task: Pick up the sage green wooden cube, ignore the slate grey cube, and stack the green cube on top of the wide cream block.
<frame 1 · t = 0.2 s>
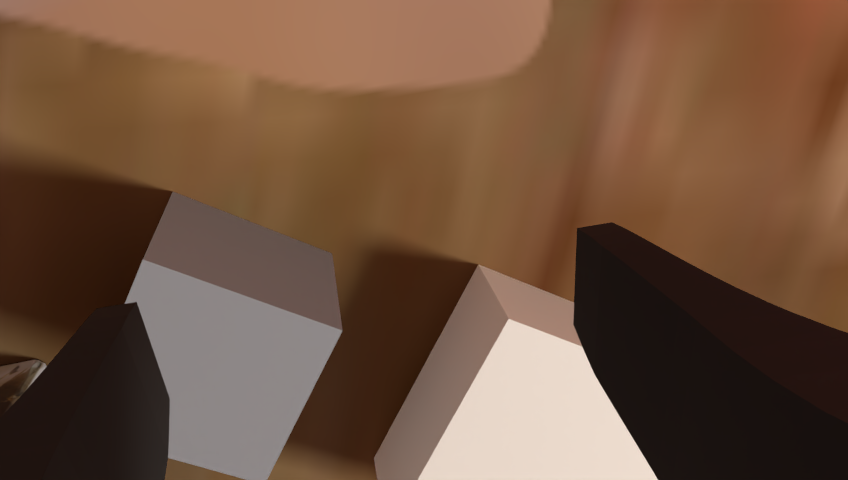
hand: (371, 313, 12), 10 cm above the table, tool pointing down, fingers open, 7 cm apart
grey cube: (223, 292, 23), on the table
cream base block: (522, 395, 27), on the table
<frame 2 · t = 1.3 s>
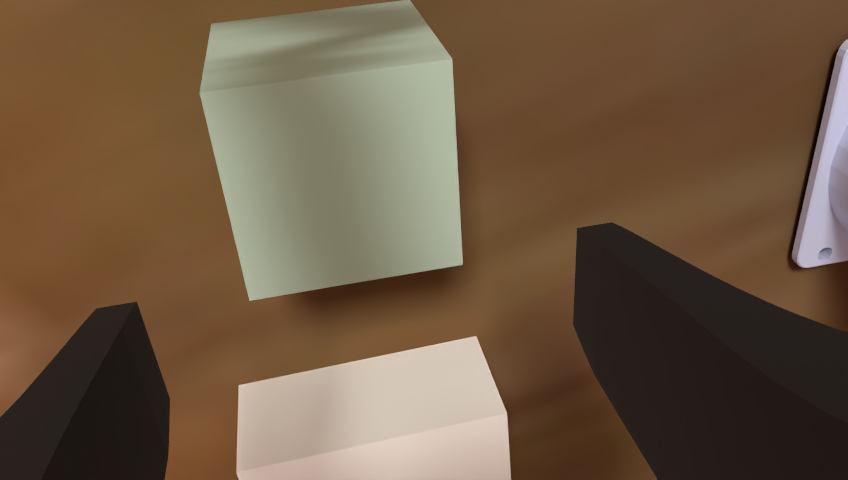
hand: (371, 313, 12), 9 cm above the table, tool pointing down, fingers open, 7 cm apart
cream base block: (374, 438, 27), on the table
green cube: (325, 103, 20), on the table
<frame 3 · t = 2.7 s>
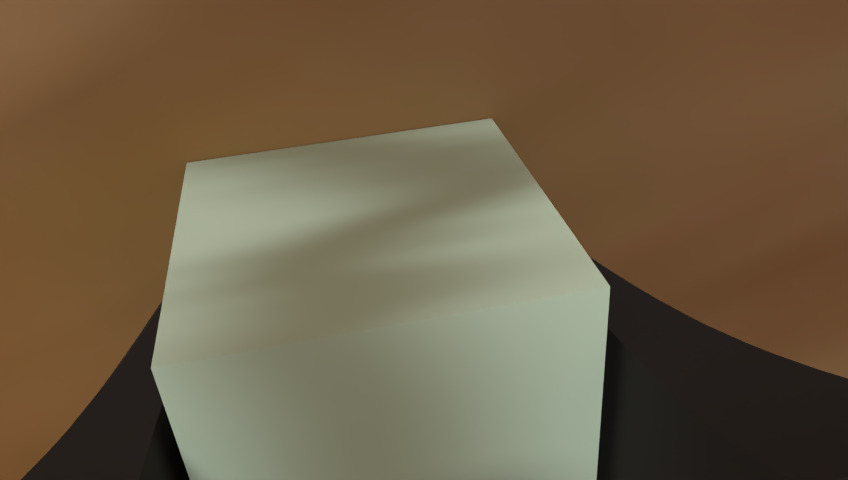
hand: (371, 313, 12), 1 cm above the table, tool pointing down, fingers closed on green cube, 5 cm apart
green cube: (360, 266, 14), on the table, touching gripper
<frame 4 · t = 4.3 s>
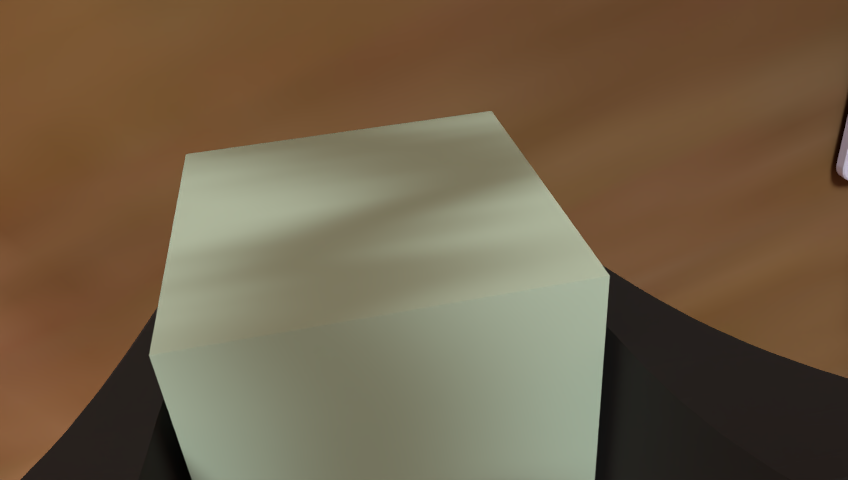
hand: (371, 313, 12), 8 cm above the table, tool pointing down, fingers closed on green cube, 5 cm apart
green cube: (360, 259, 14), point 7 cm above the table, touching gripper
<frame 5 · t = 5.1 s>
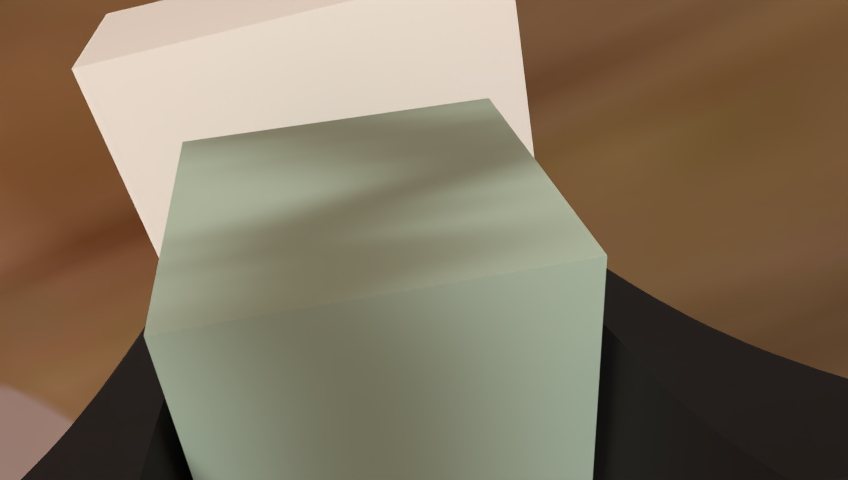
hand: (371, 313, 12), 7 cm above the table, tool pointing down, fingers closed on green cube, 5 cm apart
cream base block: (331, 129, 19), on the table
green cube: (358, 248, 14), point 6 cm above the table, touching gripper
when the fingers open (6 cm above the table, at t = 5.8 s): green cube drops 1 cm, resting on cream base block.
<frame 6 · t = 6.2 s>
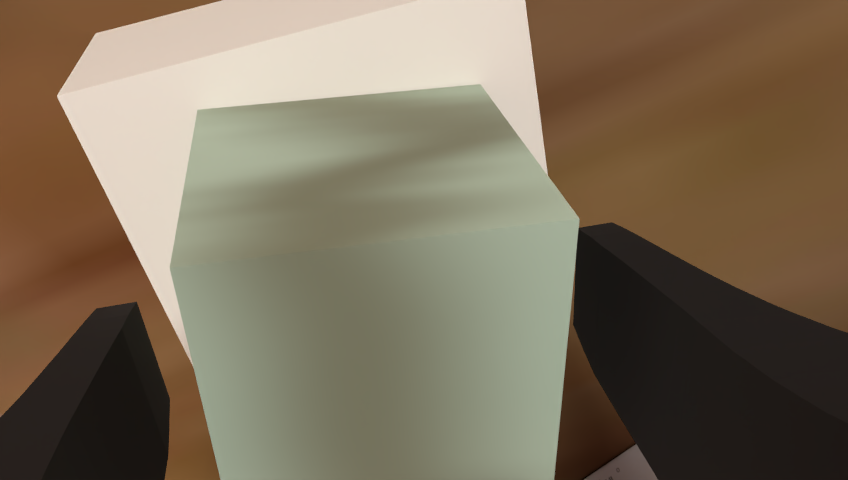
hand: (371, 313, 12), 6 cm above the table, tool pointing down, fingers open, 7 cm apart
cream base block: (334, 147, 18), on the table, touching green cube
green cube: (353, 219, 15), point 4 cm above the table, touching cream base block
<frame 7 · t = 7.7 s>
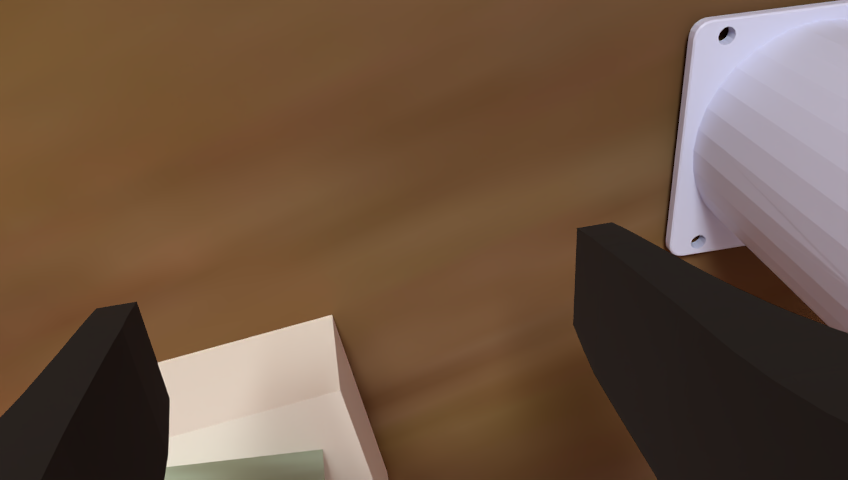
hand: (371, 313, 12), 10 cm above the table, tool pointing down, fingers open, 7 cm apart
cream base block: (254, 423, 27), on the table, touching green cube
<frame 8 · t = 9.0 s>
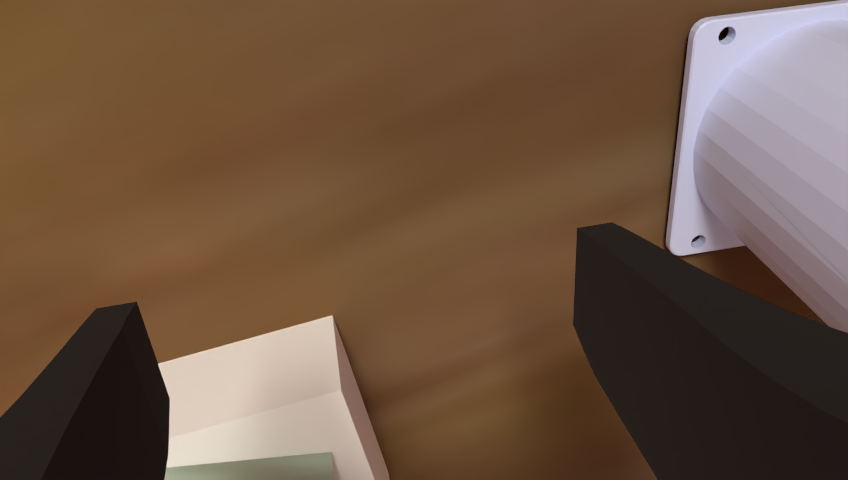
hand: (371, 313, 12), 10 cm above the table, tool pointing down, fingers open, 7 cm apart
cream base block: (255, 424, 27), on the table, touching green cube
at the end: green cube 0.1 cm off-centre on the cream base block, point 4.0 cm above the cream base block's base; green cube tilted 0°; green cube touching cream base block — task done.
